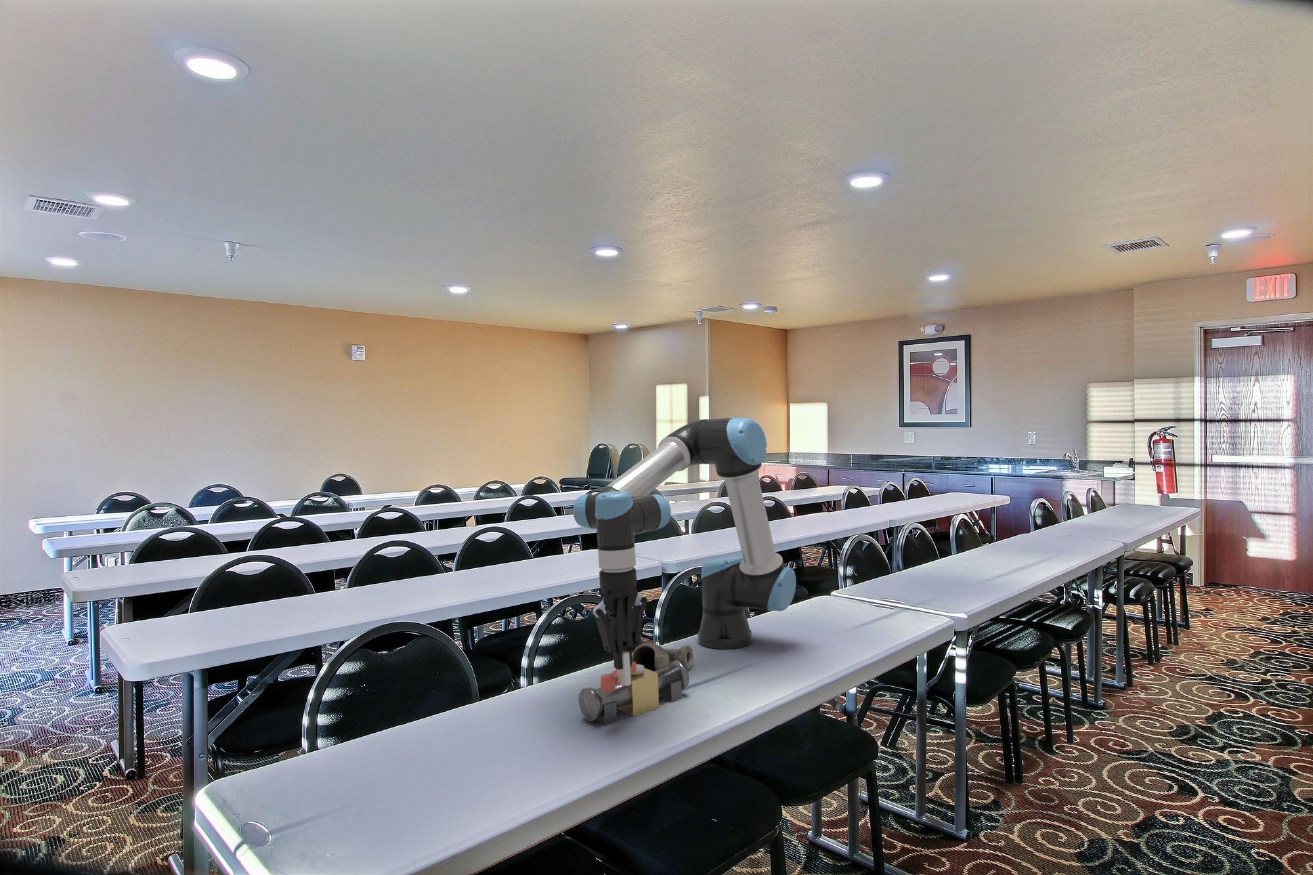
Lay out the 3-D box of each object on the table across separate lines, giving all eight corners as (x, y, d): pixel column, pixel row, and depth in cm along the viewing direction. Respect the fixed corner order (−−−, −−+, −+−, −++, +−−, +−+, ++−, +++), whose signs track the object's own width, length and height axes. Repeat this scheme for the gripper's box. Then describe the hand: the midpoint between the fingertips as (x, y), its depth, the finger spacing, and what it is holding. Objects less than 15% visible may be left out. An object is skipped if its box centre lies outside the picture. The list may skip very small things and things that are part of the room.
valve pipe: (670, 688, 174) (669, 656, 174) (690, 696, 168) (689, 663, 168) (579, 718, 158) (577, 683, 158) (597, 728, 153) (596, 692, 152)
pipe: (647, 700, 188) (622, 687, 177) (634, 669, 194) (609, 654, 182) (702, 667, 187) (680, 651, 175) (688, 637, 193) (666, 619, 181)
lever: (630, 668, 166) (629, 653, 166) (647, 669, 164) (646, 654, 164) (596, 694, 151) (595, 677, 150) (613, 696, 149) (613, 679, 149)
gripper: (631, 561, 158) (638, 670, 159) (580, 571, 150) (587, 687, 151) (653, 565, 153) (660, 679, 153) (601, 576, 144) (609, 697, 145)
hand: (624, 683), depth 152 cm, fingers closed
